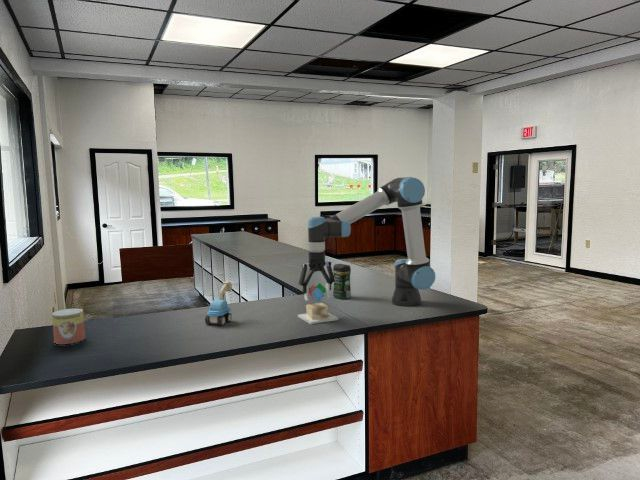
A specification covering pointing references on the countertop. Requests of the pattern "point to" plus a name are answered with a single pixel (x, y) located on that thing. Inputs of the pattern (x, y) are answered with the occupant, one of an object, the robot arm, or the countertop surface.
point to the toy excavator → (220, 308)
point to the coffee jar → (341, 281)
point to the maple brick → (317, 311)
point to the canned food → (68, 325)
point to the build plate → (314, 321)
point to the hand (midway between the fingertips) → (317, 298)
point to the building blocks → (317, 291)
